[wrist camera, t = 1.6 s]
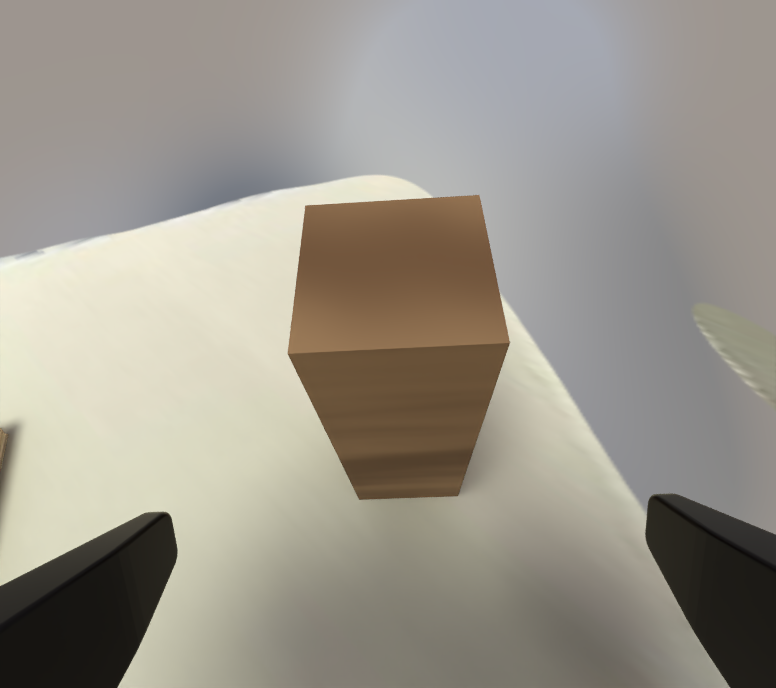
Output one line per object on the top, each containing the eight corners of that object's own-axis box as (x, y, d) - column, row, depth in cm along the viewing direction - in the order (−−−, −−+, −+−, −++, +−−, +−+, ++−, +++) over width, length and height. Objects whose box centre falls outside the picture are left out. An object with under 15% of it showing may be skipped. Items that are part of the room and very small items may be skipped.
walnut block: (457, 496, 20) (509, 343, 9) (359, 499, 20) (287, 353, 9) (448, 405, 22) (479, 195, 11) (360, 408, 22) (305, 205, 11)
